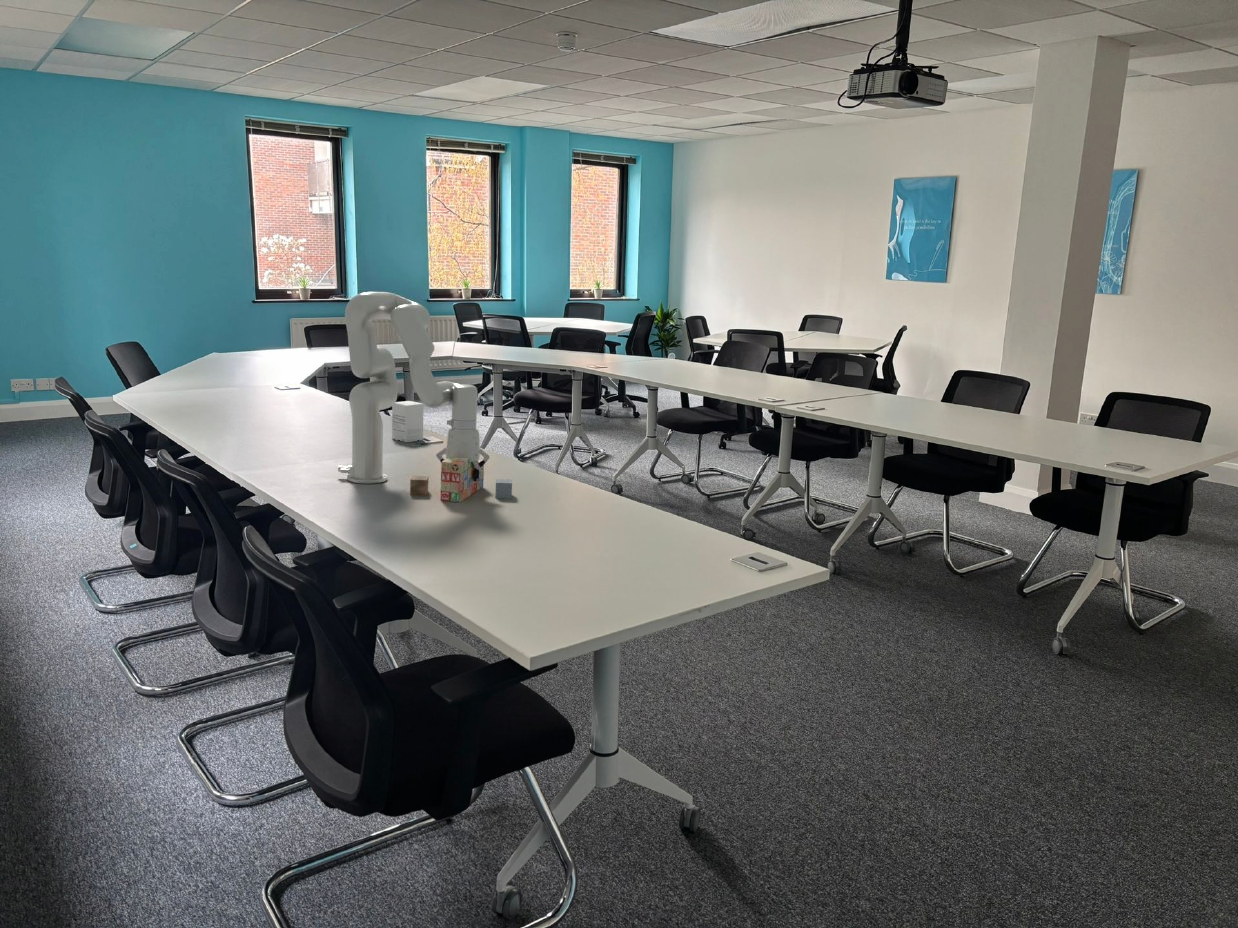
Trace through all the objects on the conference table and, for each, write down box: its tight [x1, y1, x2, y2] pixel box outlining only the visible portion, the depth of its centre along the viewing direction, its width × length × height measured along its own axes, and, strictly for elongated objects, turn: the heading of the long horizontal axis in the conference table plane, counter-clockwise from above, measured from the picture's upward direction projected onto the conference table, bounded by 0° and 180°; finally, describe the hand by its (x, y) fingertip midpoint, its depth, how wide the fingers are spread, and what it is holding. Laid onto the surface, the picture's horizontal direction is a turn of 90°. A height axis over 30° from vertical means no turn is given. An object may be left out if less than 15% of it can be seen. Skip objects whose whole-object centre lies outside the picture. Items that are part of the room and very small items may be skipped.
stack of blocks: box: [440, 457, 485, 503], centre depth 276 cm, size 21×6×12 cm, turn 169°
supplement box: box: [391, 400, 424, 443], centre depth 352 cm, size 9×9×15 cm
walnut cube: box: [409, 475, 429, 497], centre depth 274 cm, size 5×5×5 cm
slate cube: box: [494, 478, 513, 500], centre depth 277 cm, size 5×5×5 cm
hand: (462, 480), depth 276 cm, fingers closed on stack of blocks, 7 cm apart
